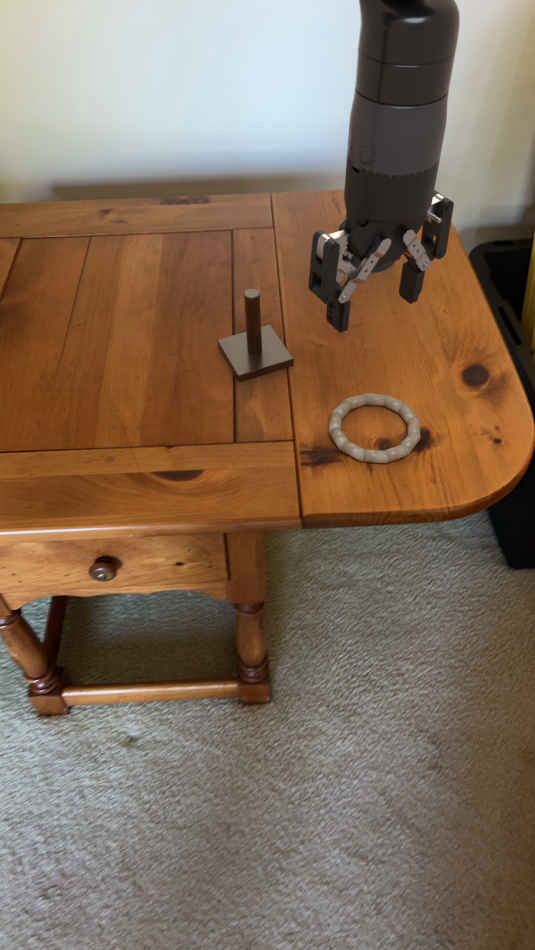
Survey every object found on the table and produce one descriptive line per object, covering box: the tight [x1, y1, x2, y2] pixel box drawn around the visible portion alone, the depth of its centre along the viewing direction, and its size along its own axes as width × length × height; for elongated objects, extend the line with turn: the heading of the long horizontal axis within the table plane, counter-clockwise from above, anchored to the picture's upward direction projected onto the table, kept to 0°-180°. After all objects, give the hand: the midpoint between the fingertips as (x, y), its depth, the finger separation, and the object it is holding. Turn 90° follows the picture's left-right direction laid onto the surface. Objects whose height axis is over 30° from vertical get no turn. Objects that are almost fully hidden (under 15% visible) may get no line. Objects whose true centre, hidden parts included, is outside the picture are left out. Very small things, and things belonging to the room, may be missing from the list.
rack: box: [216, 288, 295, 383], centre depth 86 cm, size 8×8×10 cm
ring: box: [328, 392, 421, 464], centre depth 80 cm, size 11×11×2 cm
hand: (373, 313), depth 66 cm, fingers open, 8 cm apart
